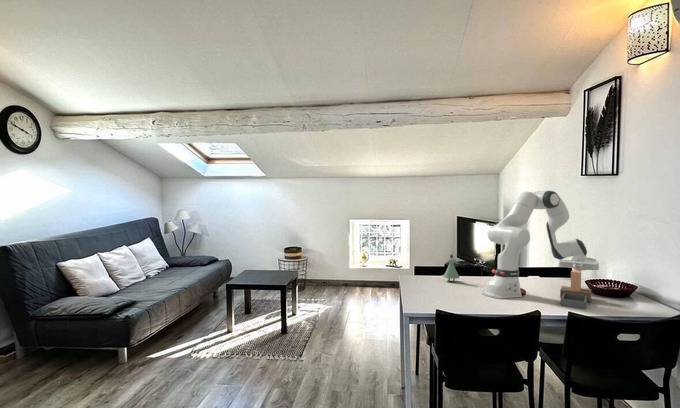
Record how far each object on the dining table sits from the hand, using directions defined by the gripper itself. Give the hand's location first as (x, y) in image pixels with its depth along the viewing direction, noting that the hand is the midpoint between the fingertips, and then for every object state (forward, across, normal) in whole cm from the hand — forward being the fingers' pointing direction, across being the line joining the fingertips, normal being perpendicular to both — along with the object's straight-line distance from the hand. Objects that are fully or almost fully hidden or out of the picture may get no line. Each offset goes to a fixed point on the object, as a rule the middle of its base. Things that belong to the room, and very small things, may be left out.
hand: (577, 266), depth 221 cm
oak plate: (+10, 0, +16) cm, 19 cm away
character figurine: (+8, -70, +16) cm, 72 cm away
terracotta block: (+10, 0, +11) cm, 15 cm away
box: (+23, 0, +16) cm, 28 cm away
